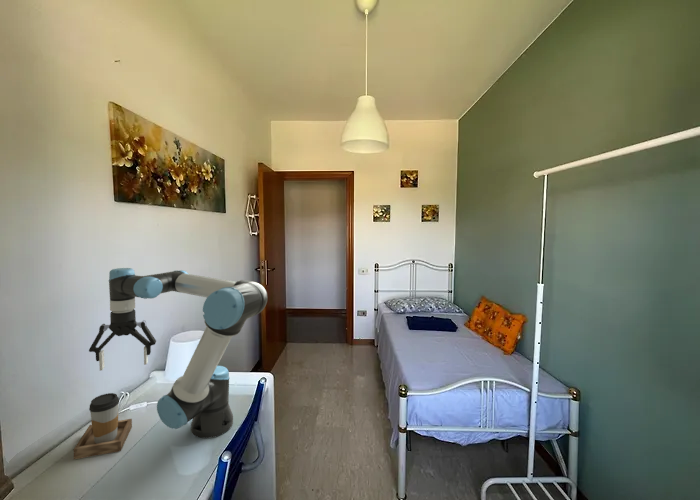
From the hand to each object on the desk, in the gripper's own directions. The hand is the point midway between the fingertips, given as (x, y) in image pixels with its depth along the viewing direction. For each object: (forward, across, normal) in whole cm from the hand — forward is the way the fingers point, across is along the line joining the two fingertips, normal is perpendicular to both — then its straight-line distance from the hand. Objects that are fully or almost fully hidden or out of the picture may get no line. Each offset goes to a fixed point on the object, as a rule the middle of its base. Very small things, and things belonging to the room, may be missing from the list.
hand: (124, 366), depth 118 cm
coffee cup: (+23, +5, +6) cm, 25 cm away
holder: (+24, +5, +7) cm, 26 cm away
